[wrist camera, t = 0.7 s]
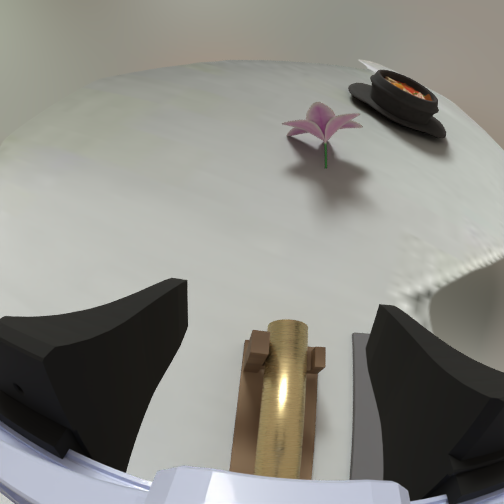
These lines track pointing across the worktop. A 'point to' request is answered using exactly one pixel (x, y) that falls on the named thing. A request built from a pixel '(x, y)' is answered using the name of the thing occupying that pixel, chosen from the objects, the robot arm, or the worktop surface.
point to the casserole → (401, 101)
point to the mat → (364, 419)
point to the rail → (283, 401)
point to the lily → (322, 123)
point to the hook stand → (251, 405)
